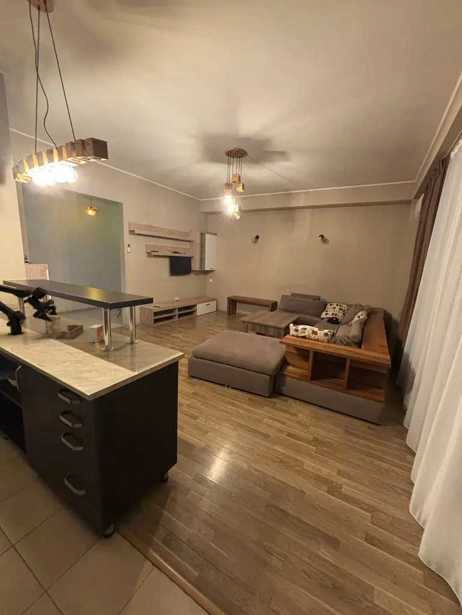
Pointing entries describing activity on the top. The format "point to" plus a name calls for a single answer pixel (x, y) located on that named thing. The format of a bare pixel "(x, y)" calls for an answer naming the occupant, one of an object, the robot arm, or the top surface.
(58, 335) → the walnut crate
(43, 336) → the slate mat
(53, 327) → the ash block
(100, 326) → the small box
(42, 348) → the top surface
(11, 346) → the top surface
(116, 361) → the top surface
